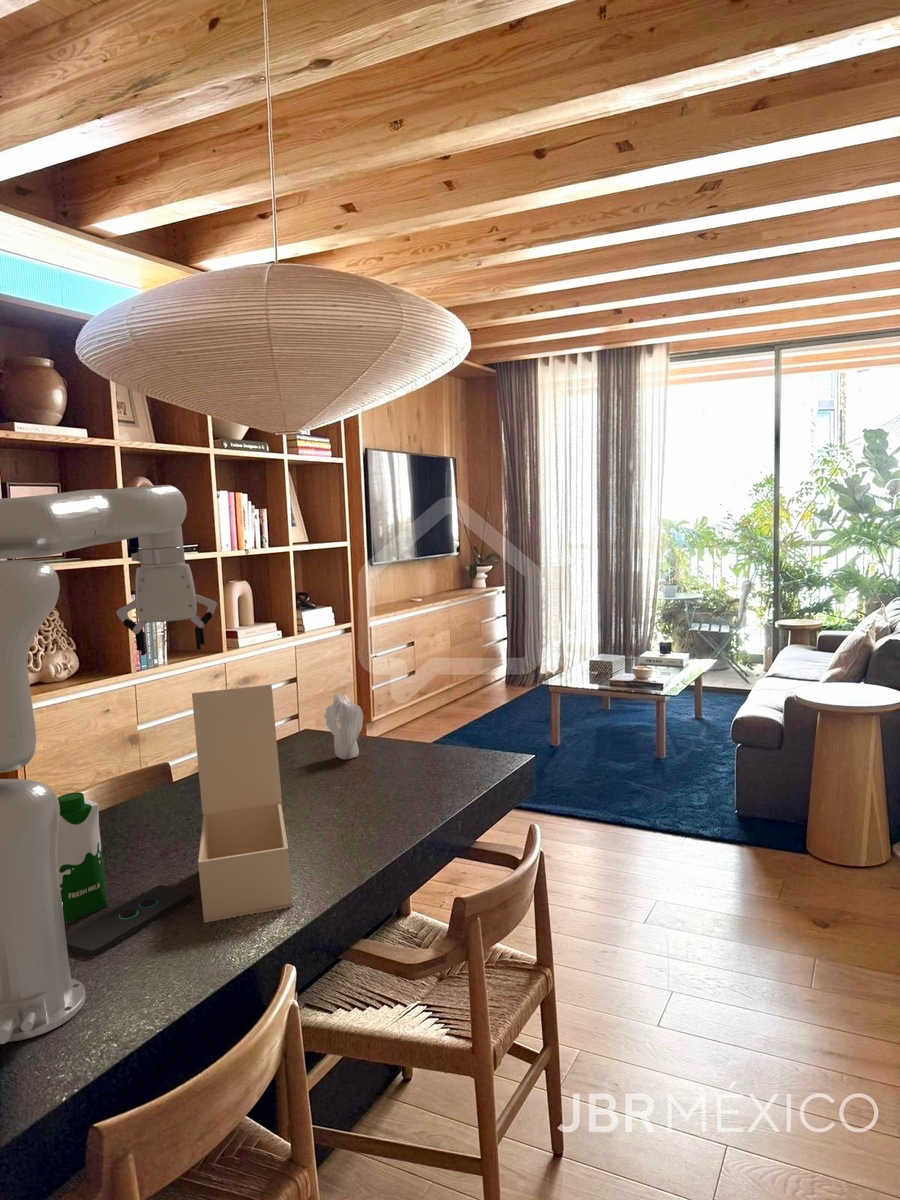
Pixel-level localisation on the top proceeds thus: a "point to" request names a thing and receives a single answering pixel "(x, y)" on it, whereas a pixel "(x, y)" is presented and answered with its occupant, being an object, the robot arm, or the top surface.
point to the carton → (244, 863)
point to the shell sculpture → (344, 726)
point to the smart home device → (126, 920)
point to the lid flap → (236, 748)
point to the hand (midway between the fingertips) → (171, 651)
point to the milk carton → (80, 857)
